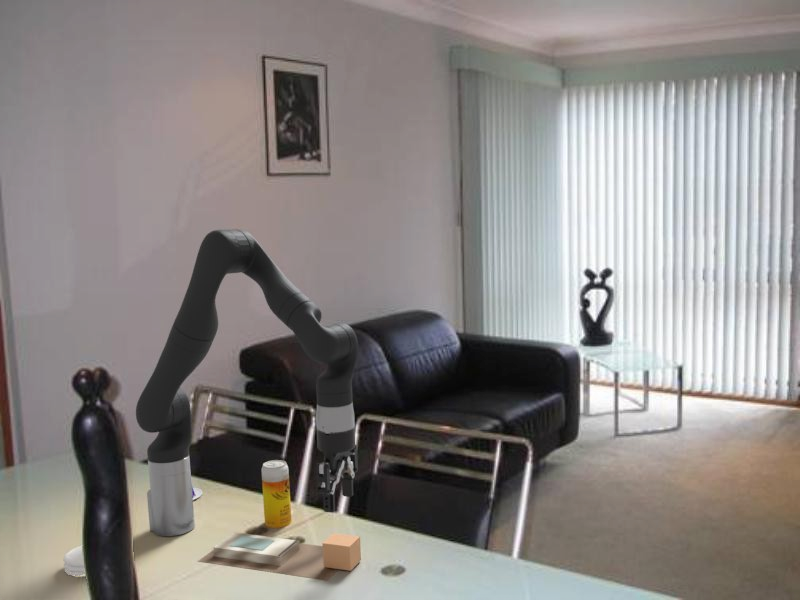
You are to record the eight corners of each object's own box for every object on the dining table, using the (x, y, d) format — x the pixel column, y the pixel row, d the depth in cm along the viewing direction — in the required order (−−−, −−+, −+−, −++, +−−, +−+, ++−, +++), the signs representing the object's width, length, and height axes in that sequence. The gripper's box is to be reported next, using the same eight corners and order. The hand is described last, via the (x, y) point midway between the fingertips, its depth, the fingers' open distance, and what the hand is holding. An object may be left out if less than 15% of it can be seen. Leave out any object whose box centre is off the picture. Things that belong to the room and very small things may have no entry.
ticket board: (198, 565, 174) (196, 551, 174) (234, 538, 187) (233, 525, 187) (327, 585, 163) (326, 569, 163) (357, 555, 176) (356, 541, 176)
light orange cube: (323, 566, 168) (322, 543, 168) (334, 556, 173) (333, 533, 172) (350, 570, 166) (349, 546, 166) (361, 560, 171) (359, 536, 170)
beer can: (286, 532, 190) (282, 468, 188) (261, 531, 191) (257, 467, 189) (295, 521, 196) (291, 459, 194) (270, 520, 197) (266, 459, 195)
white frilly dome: (85, 582, 169) (84, 566, 169) (54, 572, 174) (53, 556, 174) (125, 563, 178) (124, 547, 177) (94, 554, 183) (93, 538, 182)
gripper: (334, 414, 174) (337, 489, 176) (301, 433, 161) (305, 514, 163) (367, 417, 171) (370, 493, 173) (337, 437, 158) (340, 519, 160)
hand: (338, 503), depth 168 cm, fingers open, 8 cm apart
